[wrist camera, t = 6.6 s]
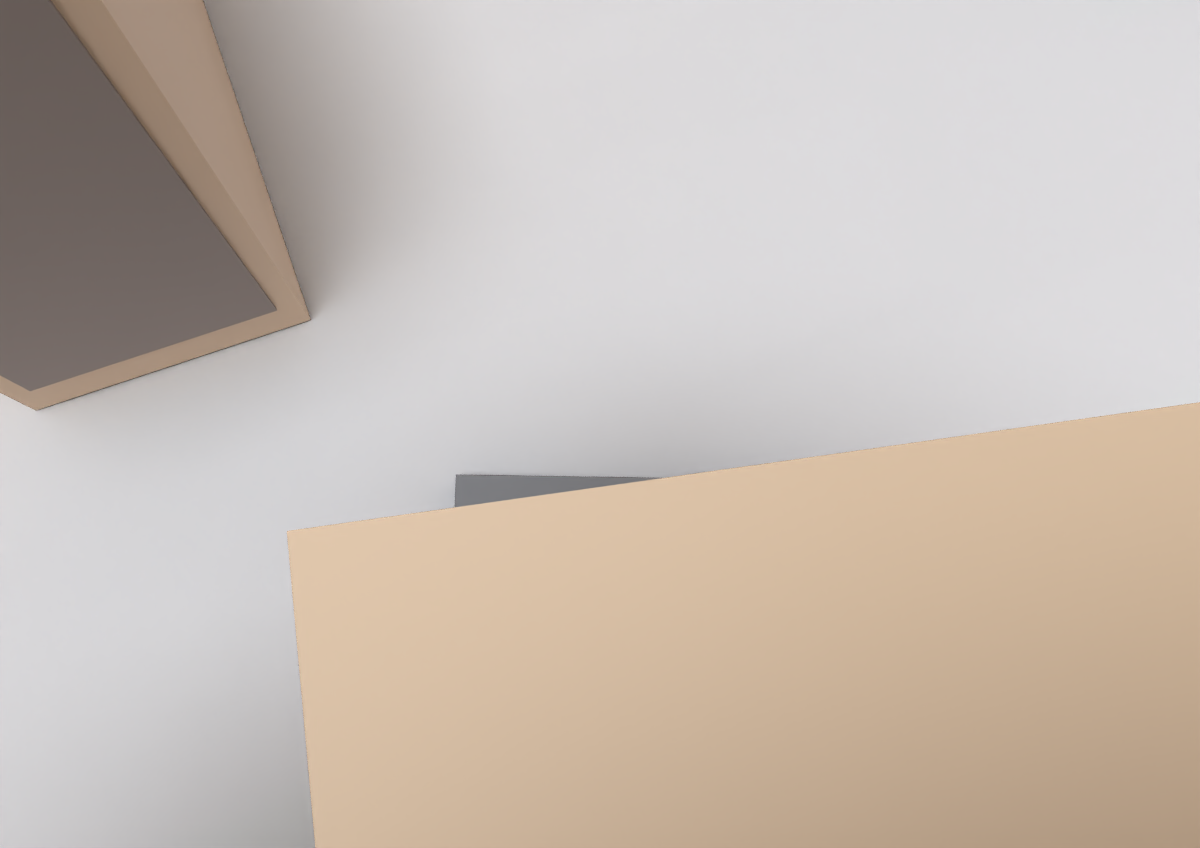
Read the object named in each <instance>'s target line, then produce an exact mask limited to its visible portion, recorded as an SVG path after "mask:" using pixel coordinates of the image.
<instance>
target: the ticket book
mask: <svg viewBox="0 0 1200 848" xmlns="http://www.w3.org/2000/svg"><path fill="white" fill-rule="evenodd" d="M309 320H311V319H310V316H309V313H308V310H307V307H306V304H305V301H304V298H303V295H302V292H301V289H300V286H299V283H298V280H297V277H296V274H295V271H294V269H293V266H292V263H291V260H290V257H289V254H288V251H287V248H286V245H285V242H284V239H283V236H282V233H281V230H280V227H279V224H278V221H277V218H276V215H275V212H274V209H273V206H272V203H271V200H270V197H269V194H268V192H267V189H266V186H265V183H264V180H263V177H262V174H261V171H260V168H259V165H258V162H257V159H256V156H255V153H254V150H253V147H252V144H251V141H250V138H249V135H248V132H247V129H246V126H245V123H244V120H243V117H242V115H241V112H240V109H239V106H238V103H237V100H236V97H235V94H234V91H233V88H232V85H231V82H230V79H229V76H228V73H227V70H226V67H225V64H224V61H223V58H222V55H221V52H220V49H219V46H218V43H217V40H216V38H215V35H214V32H213V29H212V26H211V23H210V20H209V17H208V14H207V11H206V8H205V5H204V2H203V0H0V393H2V394H4V395H6V396H8V397H10V398H12V399H14V400H16V401H18V402H20V403H22V404H24V405H26V406H28V407H30V408H32V409H34V410H39V409H42V408H45V407H48V406H51V405H54V404H57V403H60V402H63V401H66V400H69V399H72V398H75V397H78V396H81V395H84V394H87V393H90V392H93V391H96V390H99V389H102V388H106V387H109V386H112V385H115V384H118V383H121V382H124V381H127V380H130V379H133V378H136V377H139V376H142V375H145V374H148V373H151V372H154V371H157V370H160V369H163V368H166V367H169V366H172V365H175V364H178V363H181V362H184V361H187V360H190V359H194V358H197V357H200V356H203V355H206V354H209V353H212V352H215V351H218V350H221V349H224V348H227V347H230V346H233V345H236V344H239V343H242V342H245V341H248V340H251V339H254V338H257V337H260V336H263V335H266V334H269V333H272V332H275V331H278V330H282V329H285V328H288V327H291V326H294V325H297V324H300V323H303V322H306V321H309Z"/></svg>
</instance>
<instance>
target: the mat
mask: <svg viewBox="0 0 1200 848" xmlns="http://www.w3.org/2000/svg"><path fill="white" fill-rule="evenodd" d="M653 479H660V478H638V477H575V476H511V475H456V487H455V507H461V506H468V505H476V504H483V503H490V502H497V501H504V500H511V499H518V498H525V497H532V496H539V495H546V494H554V493H561V492H568V491H575V490H582V489H589V488H596V487H603V486H610V485H617V484H624V483H632V482H639V481H646V480H653Z"/></svg>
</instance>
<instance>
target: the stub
mask: <svg viewBox="0 0 1200 848" xmlns="http://www.w3.org/2000/svg"><path fill="white" fill-rule="evenodd" d="M287 538H288V549H289V560H290V571H291V582H292V594H293V605H294V616H295V627H296V638H297V649H298V660H299V671H300V682H301V694H302V705H303V716H304V727H305V738H306V749H307V760H308V771H309V782H310V793H311V804H312V816H313V827H314V838H315V848H1200V402H1199V403H1191V404H1184V405H1177V406H1170V407H1163V408H1156V409H1149V410H1142V411H1135V412H1128V413H1121V414H1114V415H1106V416H1099V417H1092V418H1085V419H1078V420H1071V421H1064V422H1057V423H1050V424H1043V425H1036V426H1028V427H1021V428H1014V429H1007V430H1000V431H993V432H986V433H979V434H972V435H965V436H958V437H950V438H943V439H936V440H929V441H922V442H915V443H908V444H901V445H894V446H887V447H880V448H873V449H865V450H858V451H851V452H844V453H837V454H830V455H823V456H816V457H809V458H802V459H795V460H787V461H780V462H773V463H766V464H759V465H752V466H745V467H738V468H731V469H724V470H717V471H709V472H702V473H695V474H688V475H681V476H674V477H667V478H660V479H653V480H646V481H639V482H632V483H624V484H617V485H610V486H603V487H596V488H589V489H582V490H575V491H568V492H561V493H554V494H546V495H539V496H532V497H525V498H518V499H511V500H504V501H497V502H490V503H483V504H476V505H468V506H461V507H454V508H447V509H440V510H433V511H426V512H419V513H412V514H405V515H398V516H391V517H383V518H376V519H369V520H362V521H355V522H348V523H341V524H334V525H327V526H320V527H313V528H305V529H298V530H291V531H287Z"/></svg>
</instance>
